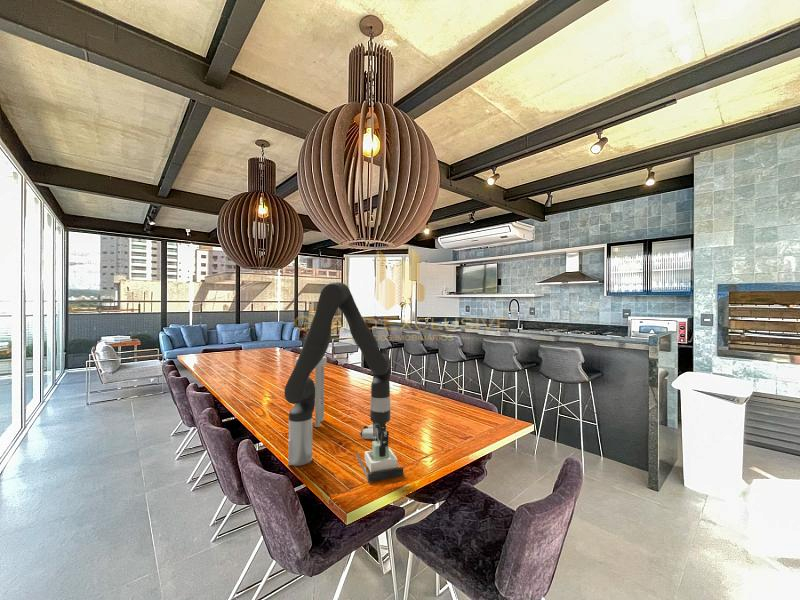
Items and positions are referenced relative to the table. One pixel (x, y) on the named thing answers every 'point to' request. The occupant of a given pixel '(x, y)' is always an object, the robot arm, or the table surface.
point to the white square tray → (380, 461)
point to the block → (376, 450)
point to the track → (381, 473)
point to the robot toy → (367, 432)
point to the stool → (319, 390)
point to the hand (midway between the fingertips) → (380, 452)
